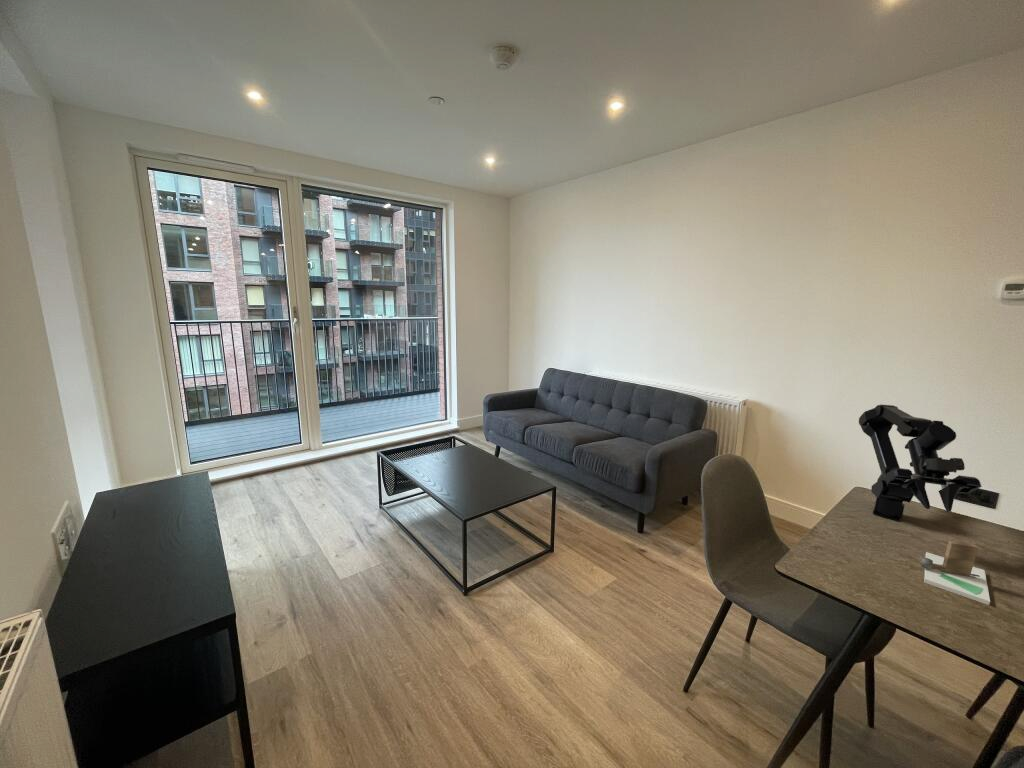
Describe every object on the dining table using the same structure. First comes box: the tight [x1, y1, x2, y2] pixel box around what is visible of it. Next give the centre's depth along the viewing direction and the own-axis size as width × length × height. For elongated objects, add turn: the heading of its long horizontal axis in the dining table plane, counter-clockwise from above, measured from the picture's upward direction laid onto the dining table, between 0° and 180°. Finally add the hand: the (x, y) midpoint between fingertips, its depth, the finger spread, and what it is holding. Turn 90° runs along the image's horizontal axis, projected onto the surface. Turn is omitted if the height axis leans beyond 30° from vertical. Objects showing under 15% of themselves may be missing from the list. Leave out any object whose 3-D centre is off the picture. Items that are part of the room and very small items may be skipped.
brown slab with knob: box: [920, 540, 980, 577], centre depth 105 cm, size 12×2×8 cm, turn 70°
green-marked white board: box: [923, 551, 991, 606], centre depth 105 cm, size 11×16×1 cm
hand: (938, 510), depth 112 cm, fingers open, 4 cm apart
